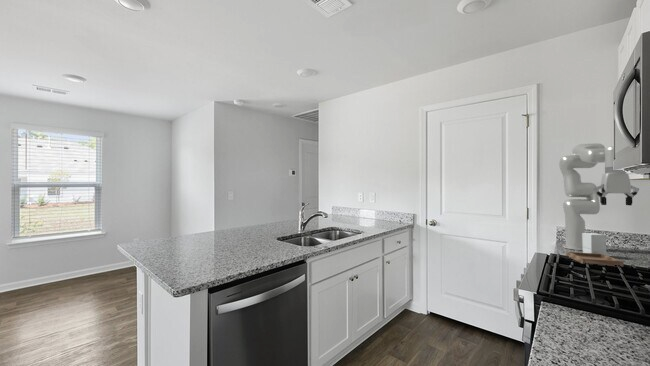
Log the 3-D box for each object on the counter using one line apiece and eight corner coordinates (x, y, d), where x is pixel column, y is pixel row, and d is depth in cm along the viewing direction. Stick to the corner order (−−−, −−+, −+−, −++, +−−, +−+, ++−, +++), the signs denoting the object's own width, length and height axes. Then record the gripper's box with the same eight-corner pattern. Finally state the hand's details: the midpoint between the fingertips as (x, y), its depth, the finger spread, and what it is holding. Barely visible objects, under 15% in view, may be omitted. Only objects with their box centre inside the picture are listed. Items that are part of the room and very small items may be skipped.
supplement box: (606, 257, 157) (606, 235, 157) (591, 257, 158) (590, 234, 158) (597, 254, 164) (596, 233, 164) (582, 254, 165) (581, 232, 166)
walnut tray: (566, 256, 161) (566, 251, 161) (602, 258, 155) (602, 253, 155) (582, 263, 144) (582, 258, 144) (623, 266, 138) (623, 261, 138)
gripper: (633, 171, 143) (633, 205, 142) (589, 171, 149) (590, 204, 148) (643, 170, 136) (644, 205, 135) (597, 170, 142) (598, 205, 141)
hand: (616, 205), depth 142 cm, fingers open, 9 cm apart
